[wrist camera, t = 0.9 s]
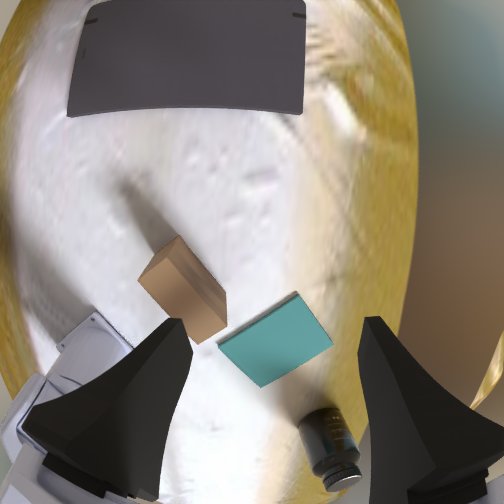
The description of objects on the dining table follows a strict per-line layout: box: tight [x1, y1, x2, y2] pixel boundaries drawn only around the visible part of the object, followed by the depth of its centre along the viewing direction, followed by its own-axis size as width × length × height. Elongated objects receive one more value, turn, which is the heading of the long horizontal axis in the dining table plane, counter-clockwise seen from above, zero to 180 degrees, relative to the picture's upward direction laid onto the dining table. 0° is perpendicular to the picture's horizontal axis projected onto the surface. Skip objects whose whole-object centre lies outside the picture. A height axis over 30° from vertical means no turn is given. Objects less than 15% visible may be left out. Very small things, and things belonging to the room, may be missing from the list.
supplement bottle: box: [298, 408, 362, 492], centre depth 29 cm, size 7×7×12 cm
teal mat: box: [218, 294, 334, 388], centre depth 29 cm, size 10×8×1 cm
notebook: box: [67, 0, 306, 118], centre depth 19 cm, size 13×2×21 cm
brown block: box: [137, 236, 227, 345], centre depth 23 cm, size 7×3×6 cm, turn 34°
